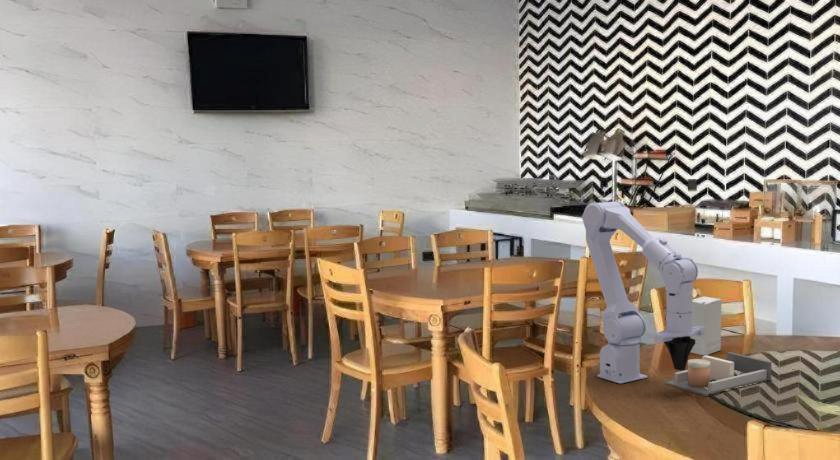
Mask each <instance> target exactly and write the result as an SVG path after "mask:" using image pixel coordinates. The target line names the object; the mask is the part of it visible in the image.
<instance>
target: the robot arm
mask: <svg viewBox="0 0 840 460" xmlns="http://www.w3.org/2000/svg"><path fill="white" fill-rule="evenodd" d="M625 205H626V204H624V203H623V202H622V201H619V200H613V201H606V202H604V201H603V202H590V203H588V204H587V205H586V206H585V208H584V210H583V211H584V212H583V213H582V215H581V219H582V223H583V226H584V229H585V241H586V245H587V248H588V251H589V255H590V257H591V261H592V264H593V267H594V270H595V274H596V277H597V280H598V283H599V286H600V290H601V293H602V295H603V299H604V302H605V305H606V308H605V309H604V311H603V313H602V314H601V315H600V316H601V317H600V318H601V319H602V320H601V321H602V332H603V336H604V337H605V339H606V340H607V344H606V345H604V346H602V347H601V349H600V351H599V373H598V374H597V377H598V378H601V379H604V380H606V381H611V382H613V383H616V384H624V383H629V382H633V381H637V380H642V379H647V378H648V375H646V374H642V373H640V365H641V364H640V362H641V361H640V342H641V341H642V337H643V336H644V335H645V333H646V331H647V324H646V321H645V319H644V317H643V316H642V314H641V313H640V312H639V308H638V306H636V305H635V304H634V303H632V302H631V301H630V300H629V298H628V295H627V292H626V289H625V286H624V282H623V280H622V277H621V276H622V275H621V274H620V273H621V272H620V269H619V268H618V264H617V261H616V258H615V254H614V252H613V248H612V245H611V242H610V241H611V239H612V237H613V236H614V235H615V234H616V232H617V231H618V230H620V231H622V232H623V233H624V234H625V235H626V236H627V237H629V239H631V240H632V241H634V242H635V243H636V244H638V245H639V246H640V248H642V255H643V257H644V258H645V259H646V260H647V261H648V262H650V263H651V264H652V265H653V266H654V267H655V268H656V269H657V270H658V271H659V272H660V277H661V279H662V281H663V283H664V290H665V291H666V329H664V330H661V331H659V332H655V333H653V343H656V344H657V343H658V344H663V343H664V346H666V348H667V349H668V352H669V355H670V357H671V360H672V365H673V368H674V370H676V371H679V372H681V371H685V370H686V367H687V365H688V360H689V356H690V354H691V353H690V352H691V350H692V348H693V346H694V345H695V339H691V338H690V337H691V336H697V335H704V327H702V326H693V297H694V296H693V295H694V294H693V289H694V287H693V286H694V285H693V283H694V282H695V281H696V280H697V278H698V275H699V270H698V266H697V264H696V263H695V261H694V260H693V259H691V258H689V257H684V256H682V254H680V253H679V252H676V250H674V249H673V248H672V247H671V246H670V245H669V244H668V240H666V238H661V237H653V236H652V235H651V233H649V232H648V231H647V229H646V228H644V227H643V225H642V224H641V223H640V222H639V221H638V220H637V219H636V218H635V217H634V216H633V215H632V214H631V209H630V208H629V207H627V206H625Z"/></svg>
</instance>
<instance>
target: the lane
mask: <svg viewBox="0 0 840 460" xmlns="http://www.w3.org/2000/svg"><path fill="white" fill-rule="evenodd" d="M726 360H727V361H732V362H734V370H737V371H740V372H741V373H740V374H739V375H737V376H733V377H729V378H725V379H721V380H716V381H712V382H708V391H706V390H705V389H704V388H703V387H693V386H690V385H688V369H687V370H686V369H685V370H682V371H677V372H674V376H673V377H674V380H673V379H672V380H670V381H665V383H664V385H667V386H670V387H673V388H676V389H680V390H683V391H687V392H690V393H692V394H696V395H700V396H703V397H709V394H711V393H715V392H719V391H722V390H726V389H730V388H735V387H739V386H745V385H749V384H754V383H758V384H760V383H759V382H762V383H764V382H763V381H766V382H768V381H767V380H770V381H772V361H769V360H765V359H760V358H758V357H757V358H756V357H752V356H748V355H743V354H739V353H735V352H731V351H730V352H729V351H728V352H726ZM754 385H755V384H754ZM709 391H710V392H709Z"/></svg>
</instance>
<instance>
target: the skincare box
mask: <svg viewBox="0 0 840 460" xmlns="http://www.w3.org/2000/svg"><path fill="white" fill-rule="evenodd" d="M693 326H702V327H704V335H697V336H691V337H690V338H691V339H695V345H694V346H693V348H692V350H691V352H690V354H696V355H700V356H706V355H707V356H709V355H710V354H713V353H716V352H718V351H719V352H720V351H721V348H722V345H721V344H722V299H721V298H716V297H711V296H710V297H709V296H701V297H697V298H695V299H693Z"/></svg>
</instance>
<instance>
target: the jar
mask: <svg viewBox="0 0 840 460" xmlns="http://www.w3.org/2000/svg"><path fill="white" fill-rule="evenodd" d="M687 370H688V385H690V386H693V387H708V382H710V361H708V360H703V359H702V358H691V359H688V360H687Z"/></svg>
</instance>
